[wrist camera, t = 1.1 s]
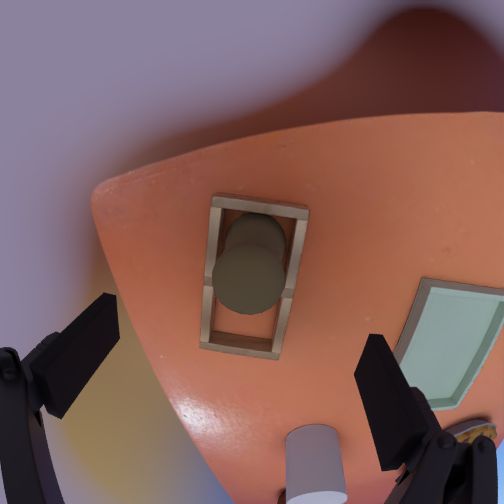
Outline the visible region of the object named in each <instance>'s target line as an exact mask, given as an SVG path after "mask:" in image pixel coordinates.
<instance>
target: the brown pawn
mask: <svg viewBox="0 0 504 504" xmlns="http://www.w3.org/2000/svg"><path fill="white" fill-rule="evenodd" d="M285 245H286V238H285V233H284V230H283V228H282V227H281V225H280V224H279V222H277V221H276V220H275V219H274V218H273V217H271V216H269V215H267V214H261V213H254V212H251V213H247V214H243V215H242V216H240V217H238V218H237V219H235V220H234V221H233V223H232V224H231V225H230V226H229V229H228V231H227V234H226V242H225V251H224V252H223V253H222V254H221V255H220V256H219V258H218V259H217V260H216V262H215V265H214V268H213V271H212V286H213V289H214V292H215V295H216V296H217V298H218V299H219V300H220V302H221V303H222V304H223V305H224V306H226V307H227V308H228V309H230V310H232V311H234V312H237V313H240V314H249V315H252V314H257V313H262V312H264V311H266V310H268V309H270V308H271V307H272V306H273V305H274V304H275V303H276V302H277V301H278V300H279V298H280V296H281V294H282V292H283V290H284V287H285V272H284V268H283V264H282V262H281V260H282V257H283V254H284V251H285Z"/></svg>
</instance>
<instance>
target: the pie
mask: <svg viewBox="0 0 504 504" xmlns="http://www.w3.org/2000/svg"><path fill="white" fill-rule="evenodd" d="M445 431H446V432H449V433H451V434H452V435H454V436H455V438H456V439H457V441H458V442H464V443H472V441H473V440H474V439H475V438H476V437H477V436H480V435H484V436H487V437H489V438H490V439H491V440H492V441H493V439H495V438H496V436H497V433H496V425H494V424H491V423H487V422H486V421H483V420H479V419H475V420H471V421H465V422H463V423H460V424H458V425H456V426H453V427H451V428H448V429H446V430H445Z"/></svg>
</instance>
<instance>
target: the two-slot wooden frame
mask: <svg viewBox="0 0 504 504" xmlns="http://www.w3.org/2000/svg"><path fill="white" fill-rule="evenodd" d="M225 208H226V209H233V210H240V211H247V212H254V213H261V214H268V215H275V216H281V217H288V218H294V224H293V230H292V236H291V241H290V247H289V252H288V258H287V263H286V269H285V287H284V290H283V292H282V294H281V296H280V300H279V305H278V310H277V315H276V320H275V325H274V330H273V335H272V340H269V339H262V338H254V337H248V336H241V335H235V334H228V333H222V332H216V331H213V321H214V310H215V299H216V295H215V292H214V289H213V286H212V271H213V268H214V265H215V262H216V260H217V259H218V258H219V256H220V249H221V240H222V231H223V222H224V213H225ZM309 213H310V210H309V208H308V207H307V206H306V205H300V204H294V203H288V202H281V201H275V200H268V199H261V198H254V197H247V196H240V195H233V194H225V193H216V194H214V195H213V196H212V200H211V209H210V219H209V229H208V239H207V250H206V261H205V273H204V287H203V300H202V315H201V330H200V347H199V348H201V349H206V350H212V351H217V352H223V353H229V354H236V355H242V356H249V357H256V358H263V359H271V360H279V357H280V353H281V348H282V344H283V340H284V336H285V331H286V327H287V322H288V318H289V313H290V309H291V304H292V298H293V295H294V289H295V285H296V280H297V276H298V271H299V266H300V261H301V256H302V250H303V245H304V240H305V235H306V229H307V224H308V218H309Z"/></svg>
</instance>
